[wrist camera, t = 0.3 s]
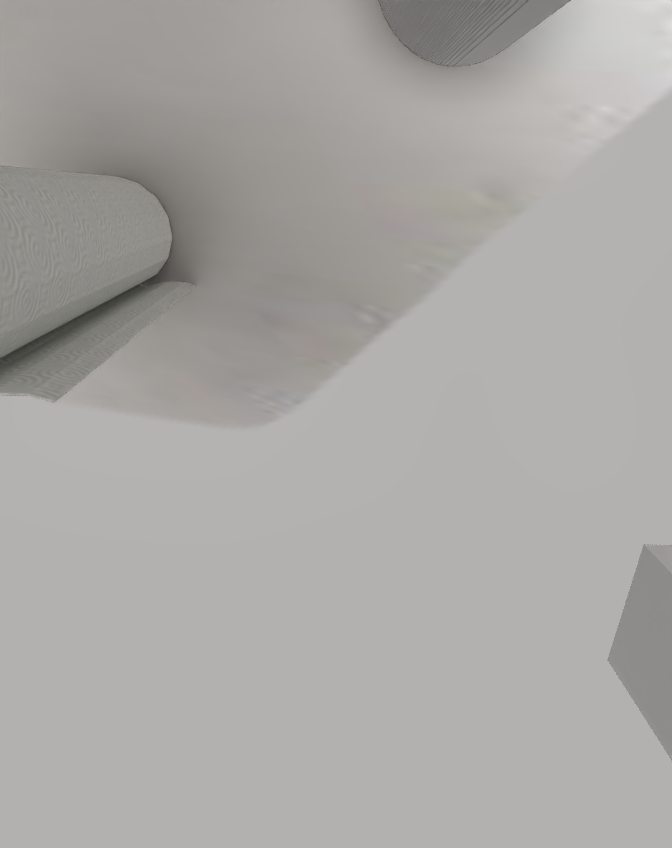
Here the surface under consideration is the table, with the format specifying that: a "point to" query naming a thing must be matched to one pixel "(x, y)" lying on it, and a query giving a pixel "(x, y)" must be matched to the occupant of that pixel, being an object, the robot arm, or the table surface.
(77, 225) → the paper towel roll
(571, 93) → the table surface
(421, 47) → the cup
